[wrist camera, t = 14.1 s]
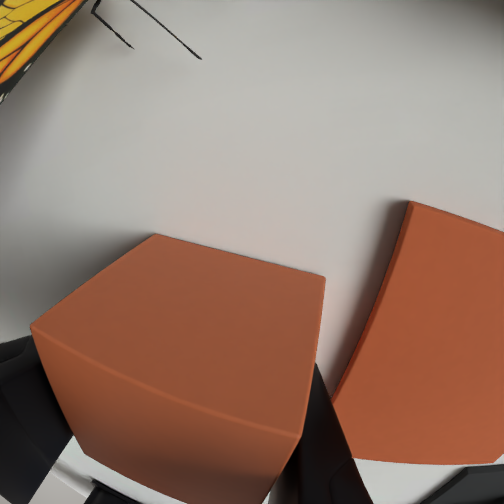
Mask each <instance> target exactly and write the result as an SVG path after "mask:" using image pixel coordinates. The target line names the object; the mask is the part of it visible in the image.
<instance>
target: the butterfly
mask: <svg viewBox="0 0 504 504" xmlns="http://www.w3.org/2000/svg"><path fill="white" fill-rule="evenodd" d="M87 1H88V0H0V105H1V103H2V102H3V101H4V99H5V98H6V97H7V95H8V94H9V93H10V92H11V90H12V89H13V88H14V87H15V85H16V84H17V83H18V81H19V80H20V79H21V78H22V77H23V75H24V74H25V73H26V72H27V70H28V69H29V68H30V67H31V65H32V64H33V63H34V62H35V60H36V59H37V58H38V57H39V56H40V54H41V53H42V52H43V51H44V50H45V49H46V47H47V46H48V45H49V44H50V43H51V41H52V40H53V39H54V38H55V37H56V36H57V34H58V33H59V32H60V31H61V30H62V29H63V28H64V27H65V26H66V24H67V23H68V22H69V21H70V20H71V19H72V18H73V17H74V15H75V14H76V13H77V12H78V11H79V10H80V9H81V8H82V6H83V5H84V4H85V3H86V2H87ZM130 1H132V2H133V3H134V4H136V5H137V6H138V7H139V8H141V9H142V10H143V11H144V12H145V13H147V14H148V15H149V16H150V17H151V18H153V19H154V20H155V21H156V22H157V23H159V24H160V25H161V26H162V27H163V28H165V29H166V30H167V31H168V32H169V33H170V34H171V35H173V36H174V37H175V38H176V39H177V40H178V41H179V42H181V43H182V44H183V45H184V46H185V47H186V48H187V49H188V50H189V51H190V52H191V53H192V54H193V55H194V56H196V57H197V58H198V59H201V57H199V56H198V55H197V54H196V53H195V52H193V51H192V50H191V49H190V48H189V47H187V46H186V45H185V44H184V43H183V42H182V41H181V40H179V39H178V38H177V37H176V36H175V35H174V34H173V33H171V32H170V31H169V30H168V29H167V28H166V27H165V26H164V25H162V24H161V23H160V22H159V21H158V20H157V19H155V18H154V17H153V16H152V15H151V14H150V13H148V12H147V11H146V10H145V9H144V8H142V7H141V6H140V5H139V4H138V3H136V2H135V1H134V0H130ZM100 2H101V0H97V1H96V3H95V4H94V6H93V8H92V10H91V14H93V15H94V16H95V17H97V18H98V19H99V20H100V21H101V22H102V23H103V24H104V25H105V26H107V27H108V28H109V29H110V30H112V31H113V32H114V33H115V34H116V36H117V37H119V38H120V39H121V40H122V41H123V42H125V40H124V39H123V38H122V37H121V36H120V35H119V34H118V33H117V32H115V31H114V30H113V29H112V27H111V26H109V25H108V24H107V23H106V22H105V21H104V20H103V19H102V18H101V17H100V16H98V15H97V14H96V13H95V10H96V8H97V7H98V6H99V4H100ZM125 43H126V44H127V45H128V46H129V47H131V45H130V44H128V43H127V42H125ZM131 48H133V47H131ZM133 49H134V48H133ZM201 60H202V59H201Z"/></svg>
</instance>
